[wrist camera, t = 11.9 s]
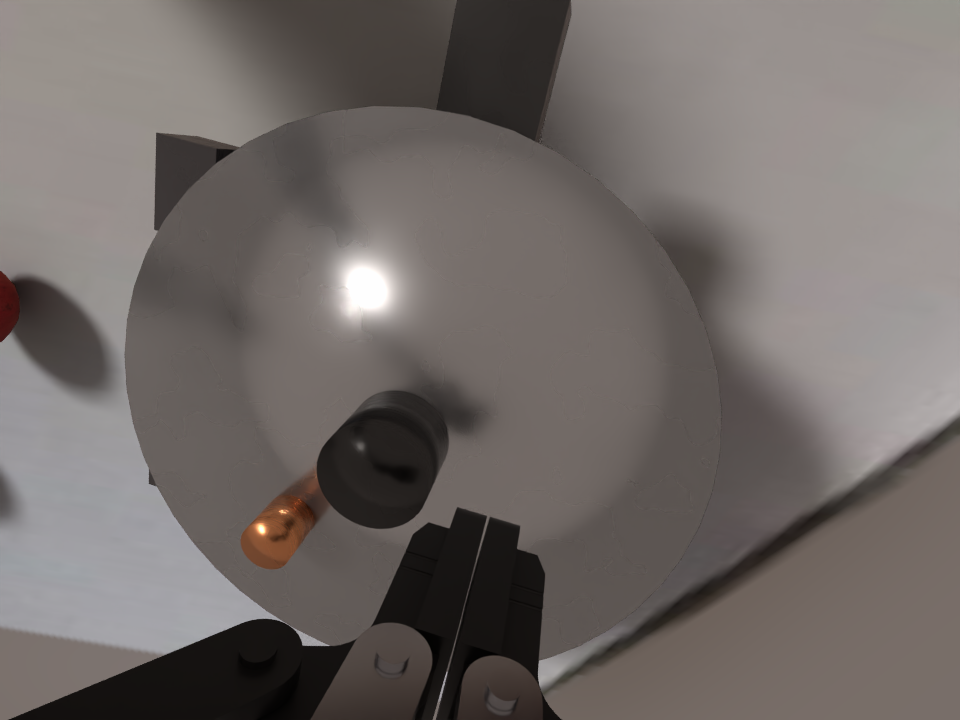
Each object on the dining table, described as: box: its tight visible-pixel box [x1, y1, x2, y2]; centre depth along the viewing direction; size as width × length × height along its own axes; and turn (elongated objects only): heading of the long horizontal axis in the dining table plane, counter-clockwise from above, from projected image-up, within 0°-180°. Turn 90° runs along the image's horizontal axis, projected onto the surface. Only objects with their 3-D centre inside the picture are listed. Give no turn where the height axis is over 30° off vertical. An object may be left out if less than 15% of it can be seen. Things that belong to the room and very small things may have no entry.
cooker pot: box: [149, 0, 571, 486], centre depth 24 cm, size 25×18×12 cm
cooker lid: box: [125, 106, 722, 672], centre depth 16 cm, size 18×18×4 cm
